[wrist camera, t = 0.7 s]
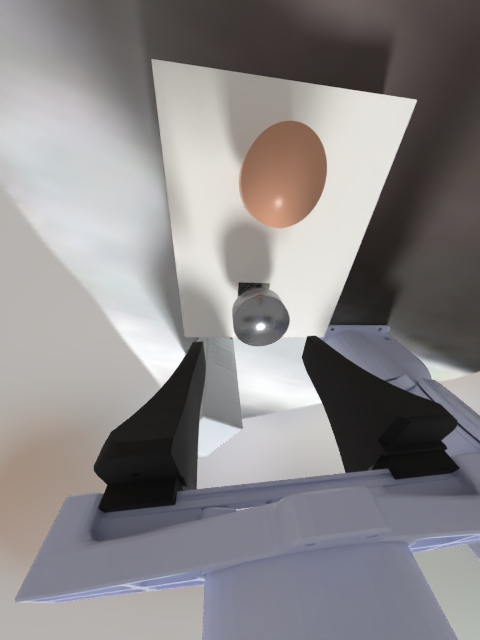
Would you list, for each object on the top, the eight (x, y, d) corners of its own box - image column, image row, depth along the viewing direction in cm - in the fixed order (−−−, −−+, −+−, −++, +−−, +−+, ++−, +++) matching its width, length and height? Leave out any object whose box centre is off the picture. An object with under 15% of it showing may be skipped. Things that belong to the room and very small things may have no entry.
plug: (277, 274, 18) (295, 299, 14) (270, 313, 20) (283, 345, 16) (231, 272, 18) (234, 298, 13) (229, 313, 20) (232, 346, 16)
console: (378, 118, 15) (417, 99, 12) (311, 320, 25) (323, 337, 22) (166, 89, 13) (151, 59, 10) (188, 319, 23) (184, 337, 21)
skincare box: (210, 365, 28) (205, 459, 18) (184, 354, 27) (163, 450, 17) (235, 339, 26) (244, 430, 16) (208, 324, 24) (200, 416, 14)
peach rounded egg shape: (300, 148, 13) (339, 126, 9) (287, 220, 16) (313, 230, 11) (236, 141, 13) (245, 114, 8) (233, 216, 15) (239, 225, 11)
